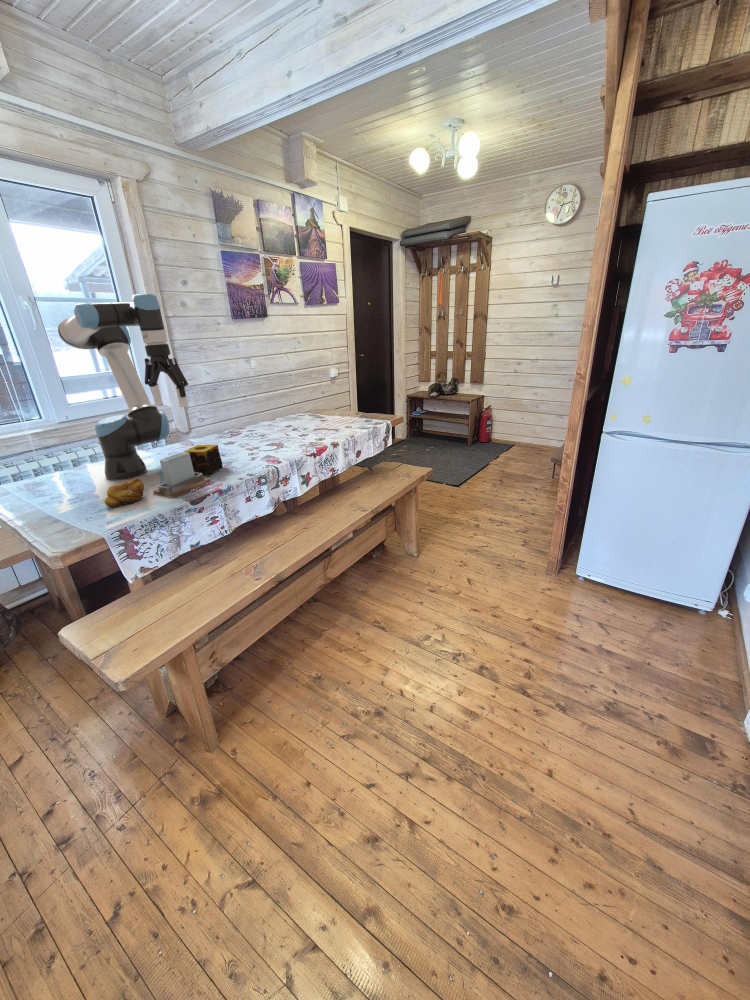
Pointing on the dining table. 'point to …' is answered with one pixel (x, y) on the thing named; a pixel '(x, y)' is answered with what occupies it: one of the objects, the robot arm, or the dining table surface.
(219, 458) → the candle
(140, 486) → the bread roll
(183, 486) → the track
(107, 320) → the robot arm
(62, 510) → the dining table surface
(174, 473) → the grey upright block
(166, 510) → the dining table surface
